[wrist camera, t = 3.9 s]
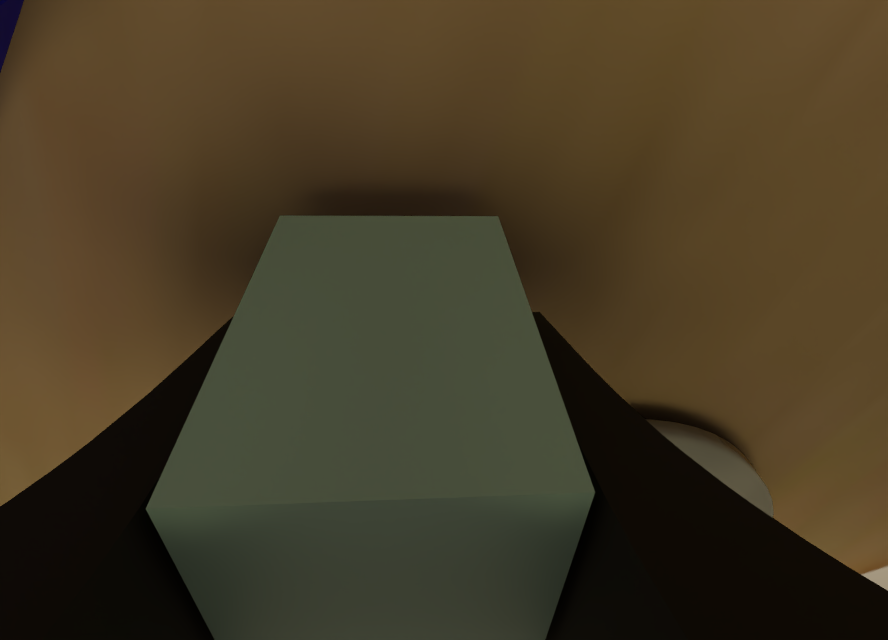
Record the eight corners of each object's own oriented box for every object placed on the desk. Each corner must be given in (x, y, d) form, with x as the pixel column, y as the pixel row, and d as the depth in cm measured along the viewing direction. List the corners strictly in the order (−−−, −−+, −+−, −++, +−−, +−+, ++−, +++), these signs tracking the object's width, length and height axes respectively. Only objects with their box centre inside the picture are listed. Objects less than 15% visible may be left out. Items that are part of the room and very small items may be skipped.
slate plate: (811, 399, 17) (843, 435, 15) (686, 595, 24) (701, 628, 23) (412, 409, 16) (413, 448, 15) (413, 610, 23) (414, 646, 22)
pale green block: (498, 215, 10) (594, 491, 5) (481, 375, 12) (535, 668, 7) (279, 215, 9) (145, 508, 4) (307, 378, 12) (239, 686, 7)
